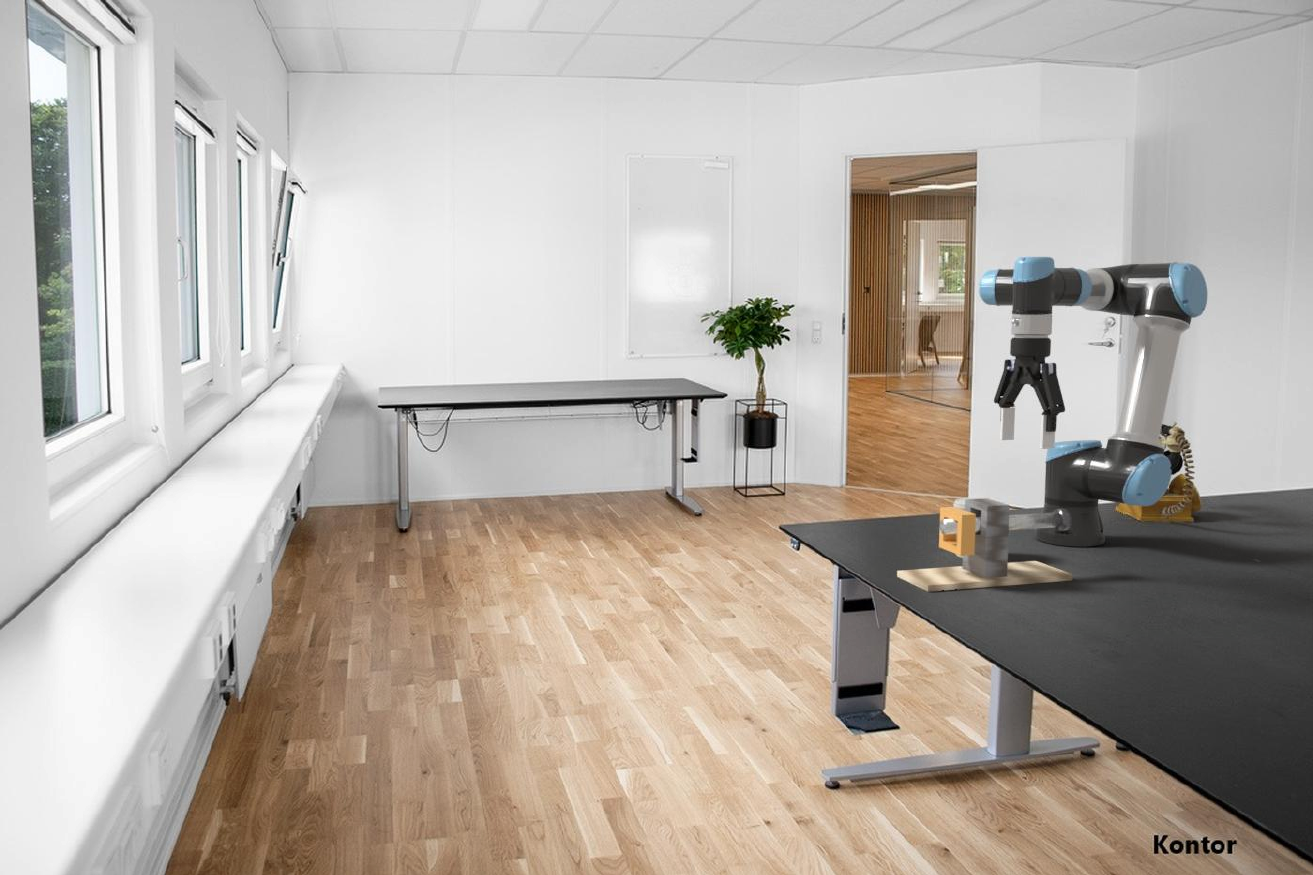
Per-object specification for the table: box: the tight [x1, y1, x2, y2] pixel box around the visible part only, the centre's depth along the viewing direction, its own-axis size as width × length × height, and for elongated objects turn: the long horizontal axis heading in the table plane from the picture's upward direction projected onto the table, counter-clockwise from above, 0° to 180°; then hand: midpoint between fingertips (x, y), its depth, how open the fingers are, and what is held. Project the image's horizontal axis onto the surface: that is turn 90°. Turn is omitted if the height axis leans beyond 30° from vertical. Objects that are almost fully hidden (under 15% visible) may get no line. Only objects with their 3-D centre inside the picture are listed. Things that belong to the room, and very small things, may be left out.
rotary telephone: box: [1115, 421, 1203, 522], centre depth 279 cm, size 35×18×25 cm, turn 179°
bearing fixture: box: [896, 497, 1073, 593], centre depth 220 cm, size 32×12×15 cm, turn 106°
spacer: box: [938, 506, 976, 556], centre depth 218 cm, size 3×8×8 cm, turn 16°
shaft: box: [939, 508, 1072, 534], centre depth 221 cm, size 28×4×4 cm, turn 106°
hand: (1026, 444), depth 220 cm, fingers open, 13 cm apart
